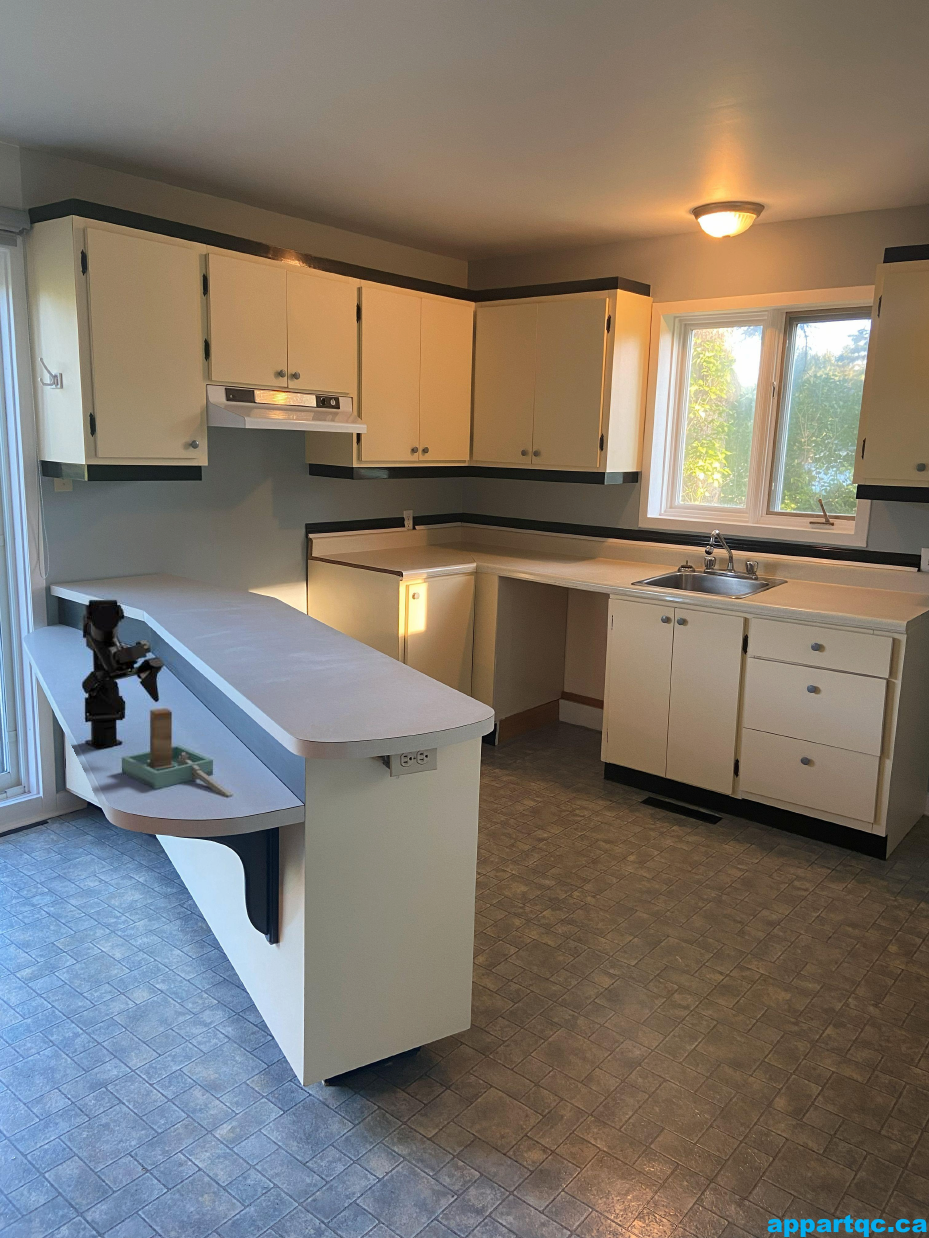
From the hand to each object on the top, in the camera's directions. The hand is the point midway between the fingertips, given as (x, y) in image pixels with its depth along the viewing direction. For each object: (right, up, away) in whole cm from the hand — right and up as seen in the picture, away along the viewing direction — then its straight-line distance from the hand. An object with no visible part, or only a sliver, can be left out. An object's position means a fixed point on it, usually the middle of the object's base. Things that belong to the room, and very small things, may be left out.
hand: (141, 705), depth 201 cm
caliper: (+17, -18, -9) cm, 26 cm away
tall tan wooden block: (+6, -14, -4) cm, 16 cm away
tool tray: (+7, -15, -4) cm, 17 cm away
